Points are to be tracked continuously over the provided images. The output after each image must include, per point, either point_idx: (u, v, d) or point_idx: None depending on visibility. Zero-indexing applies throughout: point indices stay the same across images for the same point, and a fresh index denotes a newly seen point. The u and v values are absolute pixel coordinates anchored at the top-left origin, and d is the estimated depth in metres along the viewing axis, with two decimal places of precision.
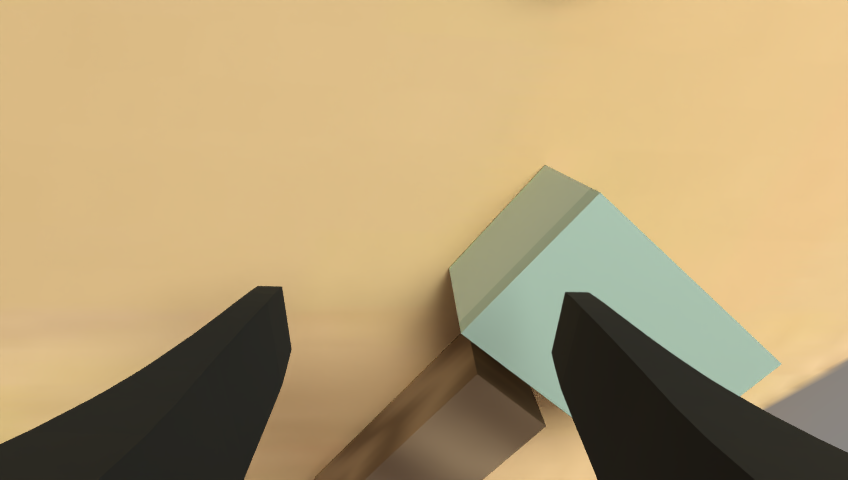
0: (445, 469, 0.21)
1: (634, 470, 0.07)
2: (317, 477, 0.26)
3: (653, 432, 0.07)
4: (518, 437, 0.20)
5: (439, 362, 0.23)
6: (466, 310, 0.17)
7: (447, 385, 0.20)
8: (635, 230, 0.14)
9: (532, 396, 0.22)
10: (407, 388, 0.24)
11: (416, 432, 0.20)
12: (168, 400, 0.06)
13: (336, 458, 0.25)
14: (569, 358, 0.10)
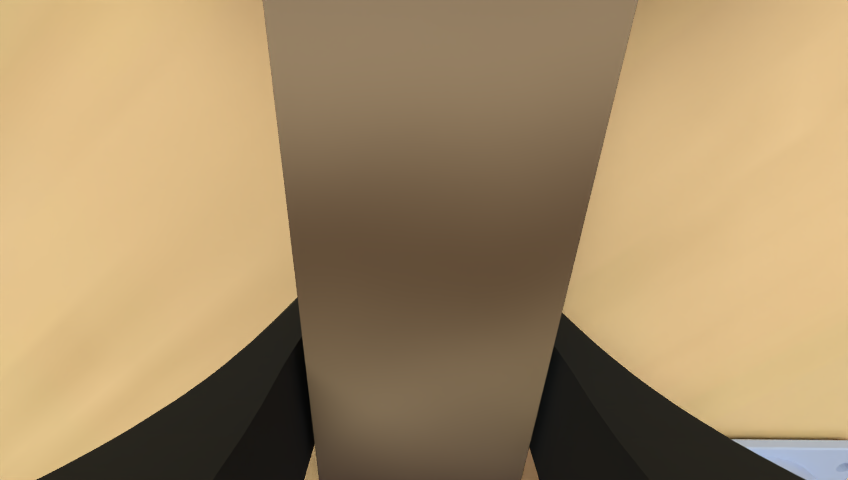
0: (470, 139, 0.06)
1: (565, 469, 0.07)
2: None
3: (578, 431, 0.07)
4: None
5: None
6: None
7: None
8: None
9: None
10: None
11: (274, 70, 0.05)
12: (252, 401, 0.06)
13: None
14: None
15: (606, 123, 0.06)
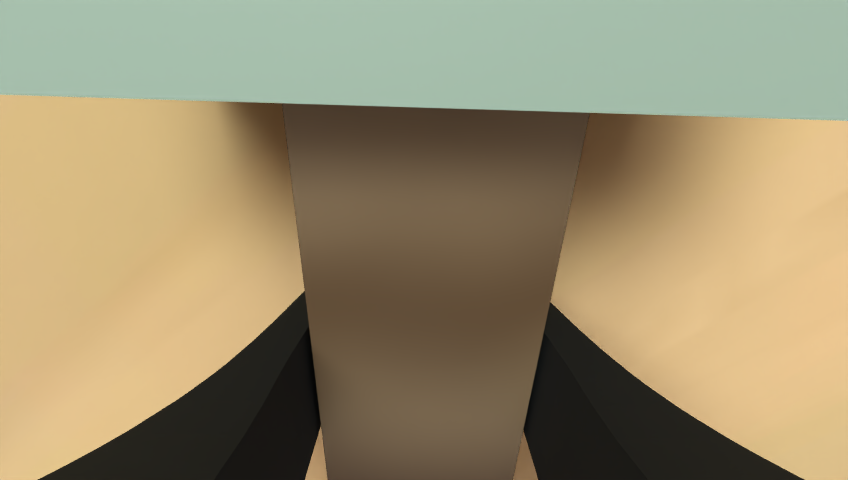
0: (456, 217, 0.07)
1: (564, 469, 0.07)
2: None
3: (577, 431, 0.07)
4: None
5: None
6: None
7: None
8: None
9: None
10: None
11: (292, 167, 0.06)
12: (253, 401, 0.06)
13: None
14: None
15: (569, 202, 0.07)
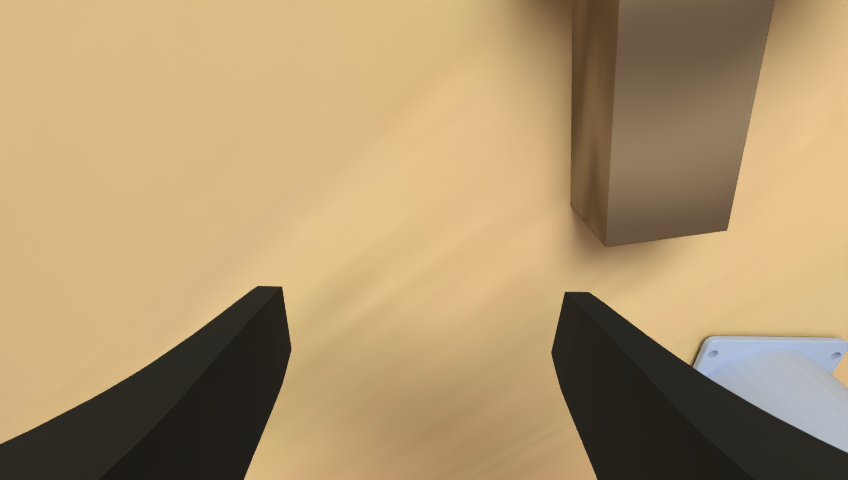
0: None
1: (634, 470, 0.07)
2: (572, 200, 0.19)
3: (653, 432, 0.07)
4: None
5: None
6: None
7: None
8: None
9: None
10: None
11: None
12: (168, 400, 0.06)
13: (572, 159, 0.18)
14: (569, 358, 0.10)
15: None
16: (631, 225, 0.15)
